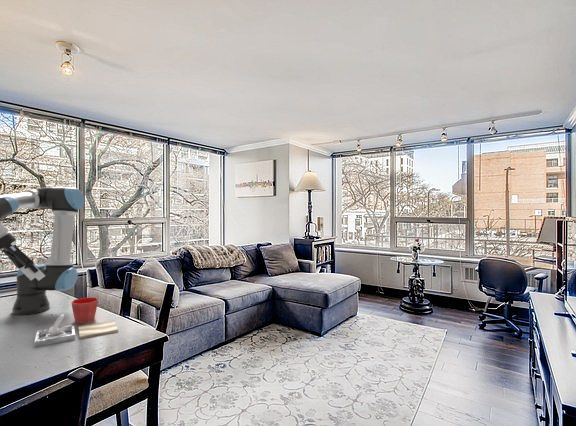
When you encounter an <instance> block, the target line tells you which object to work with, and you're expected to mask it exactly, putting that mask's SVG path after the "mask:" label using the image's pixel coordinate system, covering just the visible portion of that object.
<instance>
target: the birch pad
mask: <svg viewBox="0 0 576 426" xmlns="http://www.w3.org/2000/svg"><path fill="white" fill-rule="evenodd" d="M77 328H78V329H77V330H78V337H79V338H78V339H79V340H82V339H86V338H92V337H98V336H102V335H107V334H114V333H118V332H119V328H118V326H117V324H116V322H115V320H108V321H107V320H106V321H102V322H95V323H90V324H89V323H88V324H83V325H82V324H81V325H78V327H77Z"/></svg>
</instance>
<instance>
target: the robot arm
mask: <svg viewBox="0 0 576 426" xmlns="http://www.w3.org/2000/svg"><path fill="white" fill-rule="evenodd" d="M84 205H85V197H84V194H83V192H82V191H81V190H80V189H78V187H72V186H71V187H69V186H64V187H63V186H62V187H61V186H59V187H58V186H45V187H40V188H33V189H26V190H24V191H23V192H18V193H16V192H15V193H8V194H0V220H2V219H4V218H6V217H9V216H10V215H12V214H14V213H15V212H17V211H18V210H19V209H32V210H33V209H47V210H48V209H49V210H51V213H52V214H53V215H54V219H53V228H52V229H53V230H52V238H51V239H52V240H51V250H50V259H49V262H47V263H45V264H44V263H43V264H42V263H41V264H35V263H34V260H32V259H31V258H30V257H29V256H28V255H27V254H25V252H23V251H22V250H21V249H20V248H19V247H18V246H17V245H16V244H12V243H15V241H16V240H17V239H16V238H15V236H14V235H12V233H9V230H8V229H7V228H6V227H5V226H4V225H3V224H2V223H1V222H0V250H1V251H2V253H4V255H6V256H7V258H8V259H9V260H10V261H11V262H12V263H13V265H14V266H15V268H17V269H18V270H17V271H16V272H17V273H16V299H15V301H14V304H13V306H12V310H11V311H12V312H11V313H12V315H15V316H23V315H25V316H26V315H33V314H38V313H42V312H45V311H47V310H49V309H50V308H51V306H50V305H51V304H50V301H49V299H48V296H47V292H46V291H52V292H53V291H56V292H61V291H62V292H63V291H69V290H70V289H72V288H73V287H74V285H75V284H76V283H77V280H78V277H79V275H78V273H79V272H78V270H77V269H76V268H75V267H74V263H73V262H72V261H71V255H72V244H73V233H74V223H75V216H76V215H78V214H79V210H81V209H82V208H83V207H84Z"/></svg>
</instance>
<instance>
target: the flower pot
mask: <svg viewBox="0 0 576 426" xmlns="http://www.w3.org/2000/svg"><path fill="white" fill-rule="evenodd" d="M98 303H99V298H98V297H83V298H82V297H81V298H77V299H73V300H72V301H71V307H72V315H73V319H74V323H77V324H87V323H90V322H92V321H94V320H95V318H96V317H95V316H96V313H97V308H98Z"/></svg>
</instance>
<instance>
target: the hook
mask: <svg viewBox="0 0 576 426" xmlns="http://www.w3.org/2000/svg"><path fill="white" fill-rule="evenodd" d="M64 318H65V314H63V313H62V314H59V316H58V317H57V318H56V320H55V321H54V323H53V325H51V327H49V328H48V329H49V330H48V332H49V334H47V335H44V338H43V339H48V338H53V337H59V336H65V335H68V334H67V332H64V331H59V328H58V327H60V324H61V323H62V321H63V320H64Z"/></svg>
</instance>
